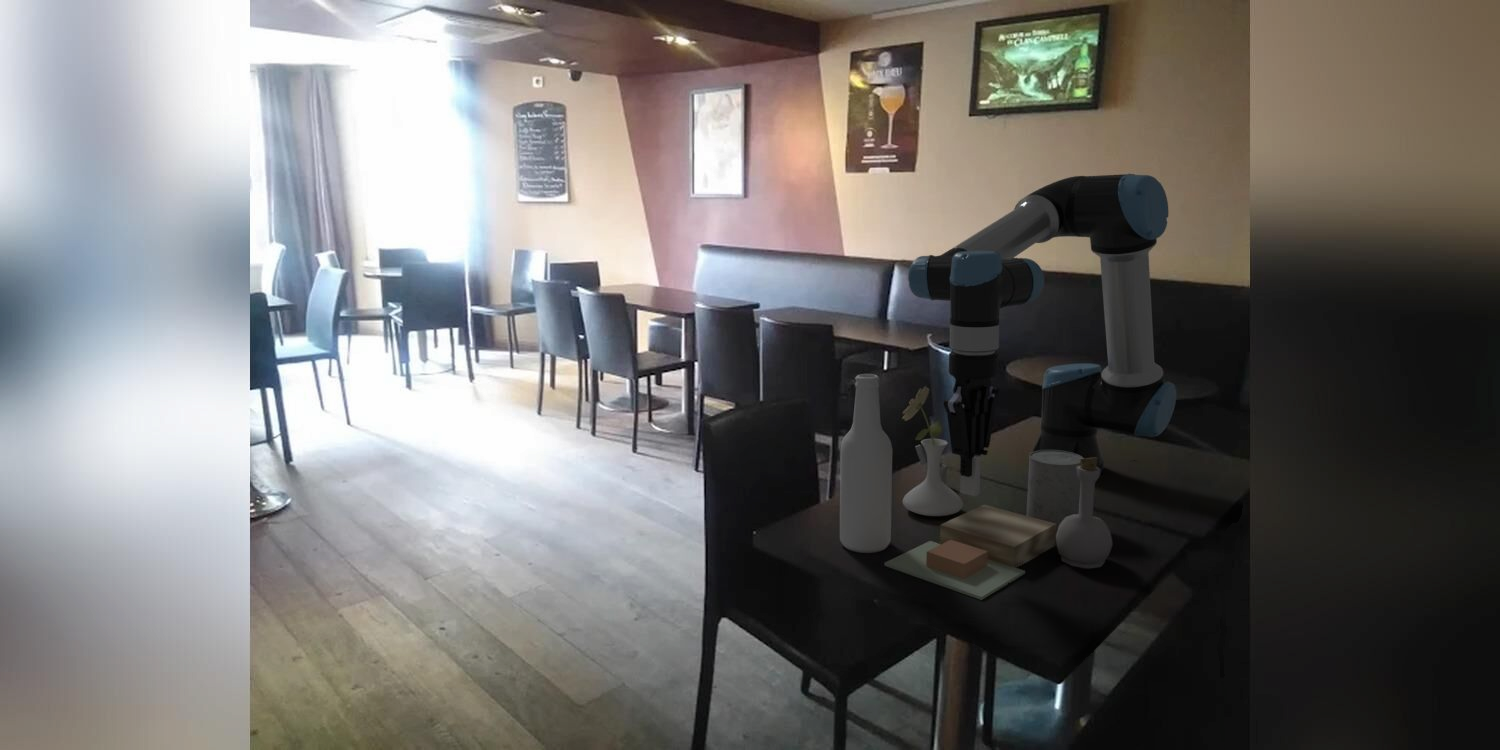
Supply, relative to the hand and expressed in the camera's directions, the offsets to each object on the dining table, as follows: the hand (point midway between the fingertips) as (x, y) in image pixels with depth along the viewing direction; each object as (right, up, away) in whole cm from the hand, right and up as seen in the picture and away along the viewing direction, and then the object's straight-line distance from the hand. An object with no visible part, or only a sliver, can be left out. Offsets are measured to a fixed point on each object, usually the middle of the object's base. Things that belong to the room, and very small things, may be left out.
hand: (969, 493), depth 142 cm
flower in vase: (-1, -7, +26) cm, 27 cm away
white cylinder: (+21, -8, +21) cm, 30 cm away
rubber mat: (-3, -12, 0) cm, 13 cm away
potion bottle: (+19, -12, +3) cm, 23 cm away
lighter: (+2, -4, +43) cm, 43 cm away
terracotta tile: (-2, -12, 0) cm, 12 cm away
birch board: (+7, -10, +9) cm, 15 cm away
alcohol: (-16, -11, +11) cm, 22 cm away
